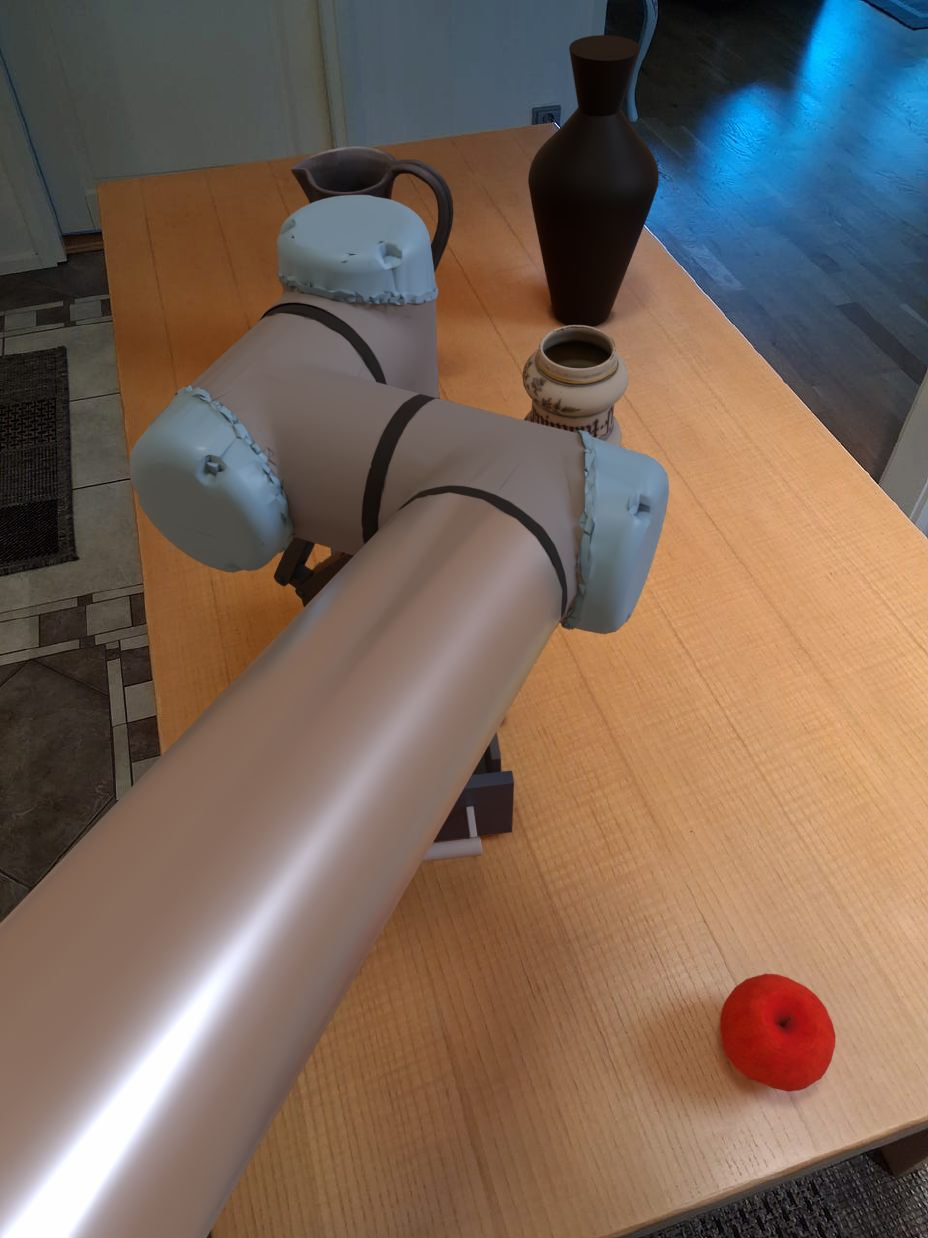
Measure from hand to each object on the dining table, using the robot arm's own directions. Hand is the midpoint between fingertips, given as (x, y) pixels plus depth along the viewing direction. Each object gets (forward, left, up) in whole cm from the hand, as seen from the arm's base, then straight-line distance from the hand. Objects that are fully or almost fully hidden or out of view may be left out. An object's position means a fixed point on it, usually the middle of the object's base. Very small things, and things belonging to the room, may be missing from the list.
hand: (406, 679), depth 70 cm
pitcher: (+1, +63, -17) cm, 66 cm away
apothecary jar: (+22, +41, -17) cm, 50 cm away
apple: (+24, -26, -17) cm, 39 cm away
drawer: (+1, -1, -16) cm, 16 cm away
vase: (+31, +76, -17) cm, 84 cm away
